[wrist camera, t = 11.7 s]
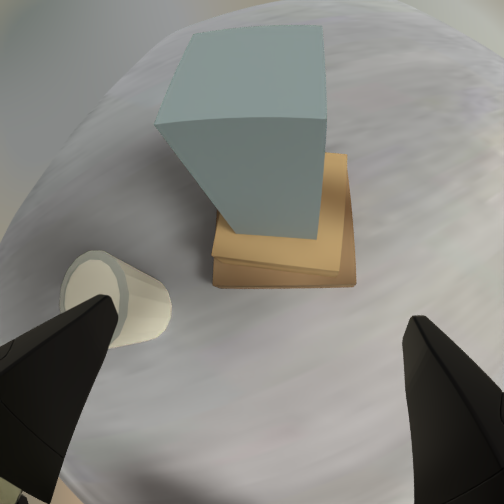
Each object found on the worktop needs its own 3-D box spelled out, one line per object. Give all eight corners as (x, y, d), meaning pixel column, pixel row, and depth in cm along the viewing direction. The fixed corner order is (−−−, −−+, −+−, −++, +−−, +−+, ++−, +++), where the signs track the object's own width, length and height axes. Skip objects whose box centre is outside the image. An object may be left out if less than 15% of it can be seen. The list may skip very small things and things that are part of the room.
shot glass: (102, 313, 24) (47, 305, 18) (140, 254, 25) (89, 230, 18) (149, 364, 22) (95, 373, 15) (194, 301, 23) (147, 290, 16)
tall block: (316, 239, 17) (326, 119, 7) (235, 233, 18) (153, 124, 8) (320, 167, 18) (322, 25, 8) (246, 164, 19) (193, 34, 9)
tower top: (336, 277, 19) (339, 271, 17) (223, 263, 21) (211, 255, 19) (344, 172, 21) (347, 154, 18) (242, 165, 23) (234, 148, 20)
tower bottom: (351, 288, 21) (356, 283, 19) (223, 289, 23) (212, 285, 21) (343, 169, 23) (345, 154, 21) (229, 176, 25) (220, 162, 23)
